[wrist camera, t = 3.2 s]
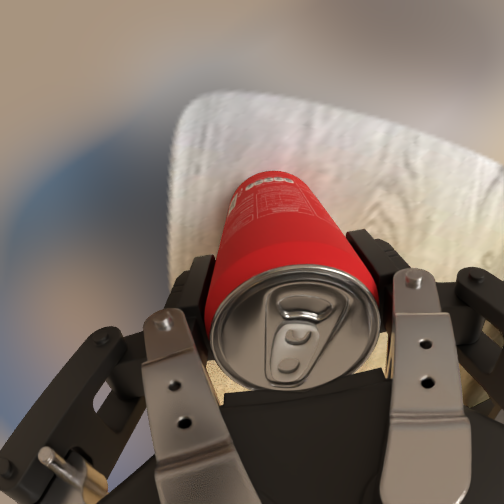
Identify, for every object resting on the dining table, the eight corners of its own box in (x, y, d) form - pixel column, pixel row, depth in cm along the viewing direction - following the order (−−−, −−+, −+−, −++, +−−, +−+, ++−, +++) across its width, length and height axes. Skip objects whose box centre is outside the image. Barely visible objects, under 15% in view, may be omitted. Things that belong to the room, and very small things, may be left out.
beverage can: (321, 175, 18) (416, 270, 7) (304, 252, 20) (352, 402, 9) (235, 161, 17) (206, 242, 7) (225, 241, 20) (197, 393, 9)
